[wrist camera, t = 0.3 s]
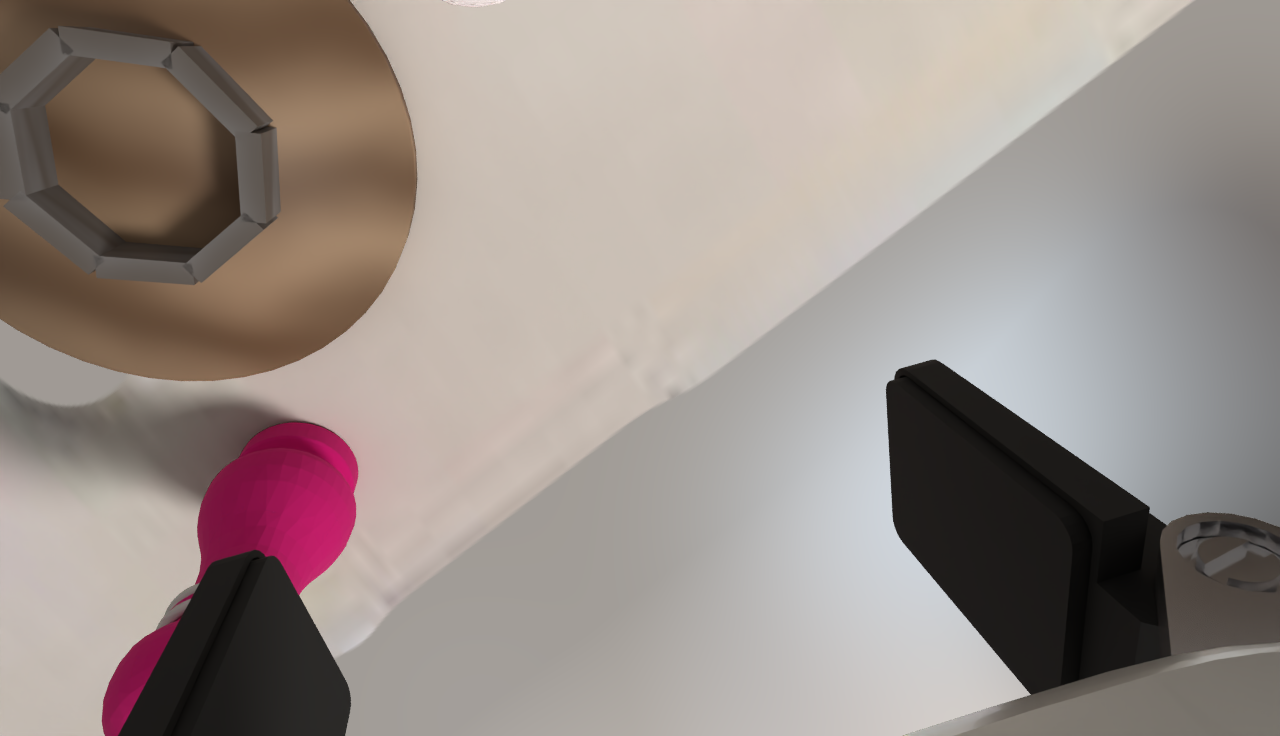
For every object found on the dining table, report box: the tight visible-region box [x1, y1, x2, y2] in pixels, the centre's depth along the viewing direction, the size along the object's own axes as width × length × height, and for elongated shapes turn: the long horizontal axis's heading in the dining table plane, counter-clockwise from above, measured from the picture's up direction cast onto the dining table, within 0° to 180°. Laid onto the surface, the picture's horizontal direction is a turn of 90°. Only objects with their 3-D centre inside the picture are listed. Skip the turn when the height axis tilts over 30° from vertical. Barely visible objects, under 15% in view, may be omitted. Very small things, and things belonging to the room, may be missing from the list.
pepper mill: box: [102, 422, 358, 736], centre depth 32 cm, size 7×7×20 cm
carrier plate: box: [0, 0, 417, 381], centre depth 31 cm, size 22×22×4 cm
